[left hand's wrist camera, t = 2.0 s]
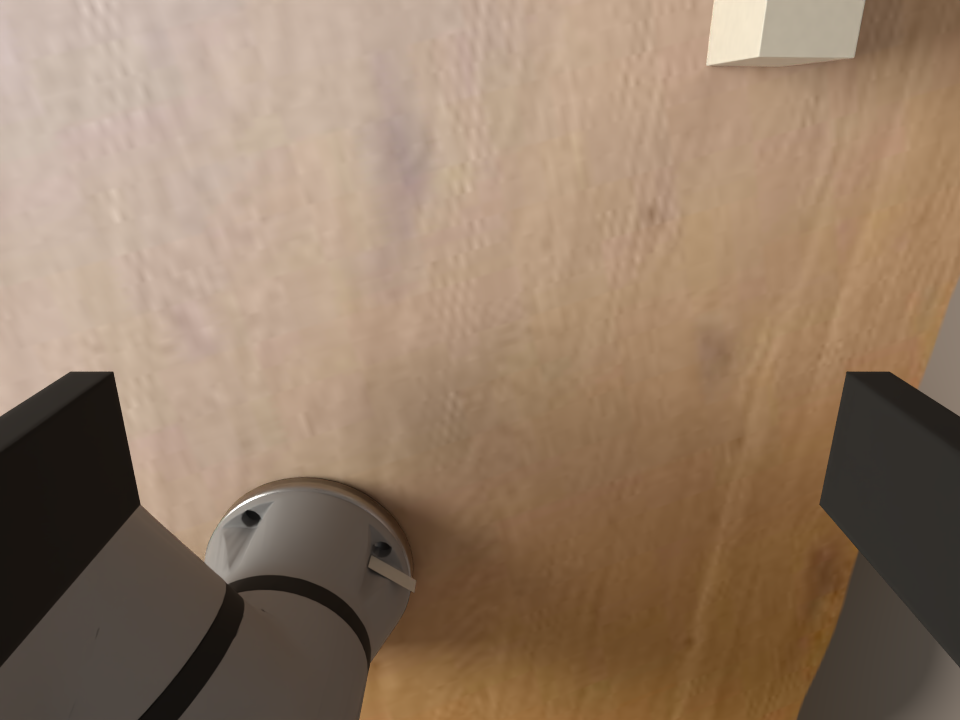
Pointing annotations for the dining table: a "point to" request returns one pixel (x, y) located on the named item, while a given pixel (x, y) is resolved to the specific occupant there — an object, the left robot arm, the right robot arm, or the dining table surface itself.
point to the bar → (783, 32)
